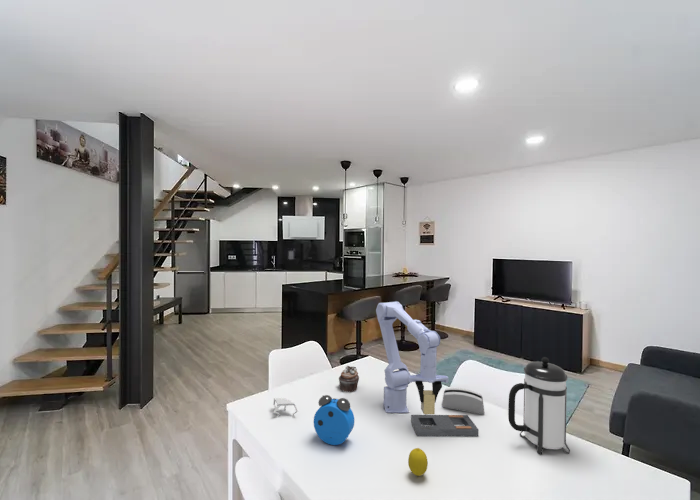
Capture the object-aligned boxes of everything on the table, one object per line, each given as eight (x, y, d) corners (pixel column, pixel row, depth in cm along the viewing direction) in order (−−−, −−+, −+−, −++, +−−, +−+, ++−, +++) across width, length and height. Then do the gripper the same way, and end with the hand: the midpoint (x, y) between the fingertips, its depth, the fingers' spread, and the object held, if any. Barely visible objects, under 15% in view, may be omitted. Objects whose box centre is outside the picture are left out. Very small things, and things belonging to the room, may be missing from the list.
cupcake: (340, 383, 157) (340, 363, 157) (359, 385, 156) (360, 364, 156) (336, 392, 148) (337, 370, 148) (357, 393, 147) (358, 371, 147)
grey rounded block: (483, 408, 135) (484, 389, 131) (484, 417, 130) (485, 398, 127) (442, 401, 140) (442, 383, 137) (441, 410, 136) (441, 391, 133)
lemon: (405, 469, 96) (406, 443, 96) (423, 469, 96) (424, 442, 97) (410, 483, 91) (411, 454, 91) (430, 482, 91) (430, 454, 91)
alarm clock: (354, 440, 111) (355, 396, 111) (348, 450, 105) (349, 404, 105) (320, 432, 115) (320, 390, 115) (312, 441, 109) (313, 397, 109)
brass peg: (423, 414, 117) (424, 395, 117) (420, 408, 121) (421, 390, 121) (434, 414, 117) (434, 395, 117) (431, 408, 121) (431, 390, 121)
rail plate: (417, 436, 114) (417, 428, 114) (410, 421, 124) (411, 414, 124) (478, 436, 114) (478, 428, 114) (467, 421, 124) (467, 414, 124)
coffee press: (523, 426, 121) (525, 347, 121) (574, 445, 110) (576, 357, 110) (507, 445, 109) (508, 357, 109) (562, 468, 98) (563, 370, 98)
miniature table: (265, 418, 124) (265, 405, 124) (274, 407, 132) (274, 395, 132) (295, 421, 122) (295, 408, 122) (302, 410, 130) (302, 398, 130)
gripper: (411, 368, 115) (410, 406, 115) (451, 368, 115) (450, 406, 115) (407, 361, 122) (406, 397, 122) (445, 361, 122) (444, 397, 122)
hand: (427, 401), depth 119 cm, fingers closed on brass peg, 4 cm apart
